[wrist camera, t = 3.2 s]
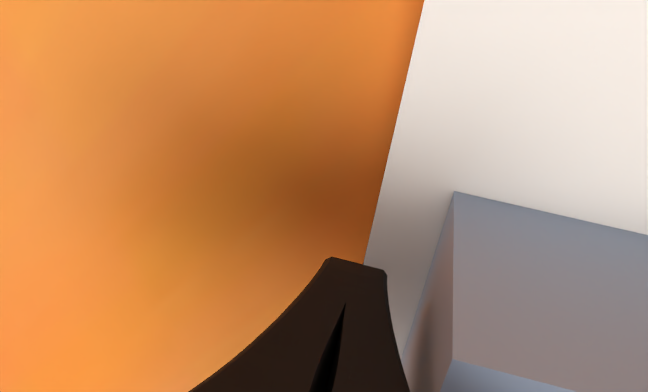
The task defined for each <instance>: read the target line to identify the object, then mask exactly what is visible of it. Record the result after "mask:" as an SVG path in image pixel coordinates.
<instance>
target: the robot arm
mask: <svg viewBox="0 0 648 392" xmlns="http://www.w3.org/2000/svg"><path fill="white" fill-rule="evenodd" d="M189 392H410V389H409V386H408V383H407V379H406V376H405V373H404V370H403V366H402V363H401V359H400V355H399V351H398V347H397V343H396V339H395V334H394V330H393V325H392V320H391V314H390V308H389V301H388V291H387V274H386V273H385V271H384V270H383V269H379V268H375V267H371V266H367V265H363V264H359V263H355V262H351V261H347V260H343V259H339V258H335V257H330V258H328V259H326V260H325V261H324V263H323V265H322V266H321V268H320V269H319V271H318V272H317V273H316V275H315V276H314V278H313V279H312V280H311V281H310V283H309V284H308V285H307V286H306V287H305V289H304V290H303V291H302V292H301V293H300V295H299V296H298V297H297V298H296V299H295V300H294V301H293V302H292V303H291V304H290V305H289V307H288V308H287V309H286V310H285V311H284V312H283V313H282V314H281V315H280V316H279V317H278V318H277V319H276V320H275V321H274V322H273V323H272V324H271V325H270V326H269V327H268V328H267V329H266V330H265V331H264V332H263V333H261V334H260V335H259V336H258V337H257V338H256V339H255V340H254V341H253V342H252V343H251V344H250V345H248V346H247V347H246V348H245V349H244V350H243V351H242V352H240V353H239V354H238V355H237V356H236V357H234V358H233V359H232V360H231V361H229V362H228V363H227V364H226V365H224V366H223V367H222V368H221V369H219V370H218V371H217V372H215V373H214V374H213V375H211V376H210V377H209V378H207V379H206V380H204V381H203V382H202V383H200V384H199V385H197V386H196V387H195V388H193V389H192V390H190V391H189Z"/></svg>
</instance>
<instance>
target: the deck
mask: <svg viewBox="0 0 648 392" xmlns="http://www.w3.org/2000/svg"><path fill="white" fill-rule="evenodd" d="M454 191H456V192H461V193H465V194H469V195H474V196H478V197H483V198H487V199H491V200H496V201H500V202H505V203H509V204H513V205H518V206H522V207H526V208H531V209H535V210H540V211H544V212H548V213H553V214H557V215H562V216H566V217H570V218H575V219H579V220H584V221H588V222H592V223H597V224H601V225H606V226H610V227H614V228H619V229H623V230H627V231H632V232H636V233H641V234H645V235H648V0H425V1H424V5H423V9H422V14H421V18H420V22H419V26H418V31H417V35H416V39H415V44H414V48H413V52H412V57H411V61H410V65H409V69H408V74H407V78H406V82H405V87H404V91H403V95H402V100H401V104H400V108H399V112H398V117H397V121H396V125H395V130H394V134H393V138H392V143H391V147H390V151H389V155H388V160H387V164H386V168H385V173H384V177H383V181H382V185H381V190H380V194H379V198H378V203H377V207H376V211H375V216H374V220H373V224H372V228H371V233H370V237H369V241H368V246H367V250H366V254H365V259H364V263H363V265H367V266H371V267H375V268H379V269H383V270H384V271H385V273H386V274H387V291H388V301H389V308H390V314H391V320H392V325H393V330H394V334H395V339H396V343H397V347H398V351H399V355H400V359H401V358H402V354H403V351H404V348H405V345H406V342H407V339H408V335H409V332H410V329H411V326H412V323H413V319H414V316H415V313H416V310H417V307H418V304H419V300H420V297H421V294H422V291H423V288H424V285H425V281H426V278H427V275H428V272H429V269H430V266H431V262H432V259H433V256H434V253H435V250H436V247H437V243H438V240H439V237H440V234H441V231H442V228H443V224H444V221H445V218H446V215H447V212H448V209H449V205H450V202H451V199H452V196H453V193H454Z"/></svg>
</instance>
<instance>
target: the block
mask: <svg viewBox="0 0 648 392" xmlns="http://www.w3.org/2000/svg"><path fill="white" fill-rule="evenodd" d="M401 363H402V366H403V370H404V373H405V376H406V379H407V383H408V386H409V389H410V392H648V235H645V234H641V233H636V232H632V231H627V230H623V229H619V228H614V227H610V226H606V225H601V224H597V223H592V222H588V221H584V220H579V219H575V218H570V217H566V216H562V215H557V214H553V213H548V212H544V211H540V210H535V209H531V208H526V207H522V206H518V205H513V204H509V203H505V202H500V201H496V200H491V199H487V198H483V197H478V196H474V195H469V194H465V193H461V192H456V191H454V193H453V196H452V199H451V202H450V205H449V209H448V212H447V215H446V218H445V221H444V224H443V228H442V231H441V234H440V237H439V240H438V243H437V247H436V250H435V253H434V256H433V259H432V262H431V266H430V269H429V272H428V275H427V278H426V281H425V285H424V288H423V291H422V294H421V297H420V300H419V304H418V307H417V310H416V313H415V316H414V319H413V323H412V326H411V329H410V332H409V335H408V339H407V342H406V345H405V348H404V351H403V354H402V358H401Z"/></svg>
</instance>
